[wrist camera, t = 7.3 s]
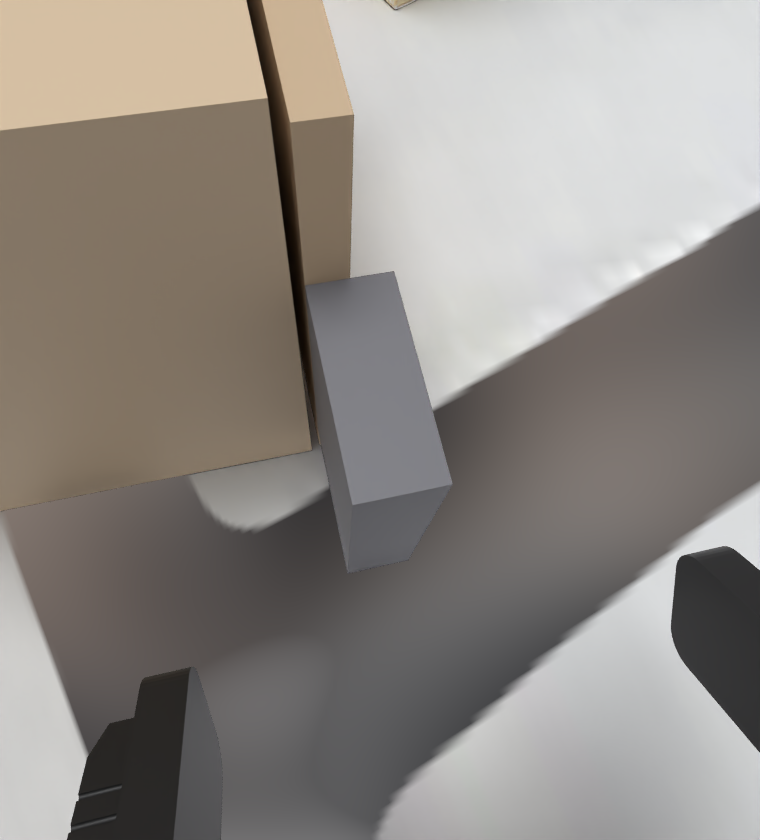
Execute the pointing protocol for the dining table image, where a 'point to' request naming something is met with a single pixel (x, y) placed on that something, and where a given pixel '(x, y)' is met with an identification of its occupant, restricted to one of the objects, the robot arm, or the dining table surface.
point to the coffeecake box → (399, 3)
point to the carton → (139, 249)
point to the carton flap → (345, 303)
